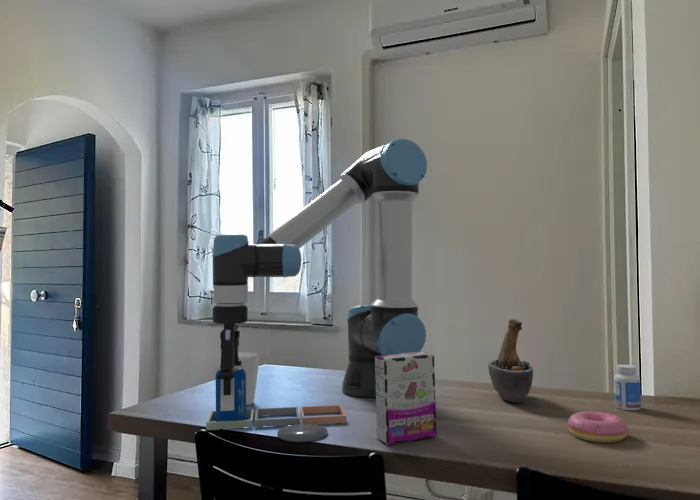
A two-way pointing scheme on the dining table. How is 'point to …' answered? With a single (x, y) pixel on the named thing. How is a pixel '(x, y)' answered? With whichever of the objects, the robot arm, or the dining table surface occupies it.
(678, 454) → the dining table surface
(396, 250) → the robot arm
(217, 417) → the beverage can
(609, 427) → the doughnut
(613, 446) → the dining table surface
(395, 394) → the candy bar box
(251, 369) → the grey tapered cylinder
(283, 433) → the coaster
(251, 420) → the sage corral
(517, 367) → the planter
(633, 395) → the pill bottle
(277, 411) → the slate-grey corral
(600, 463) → the dining table surface
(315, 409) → the terracotta corral
